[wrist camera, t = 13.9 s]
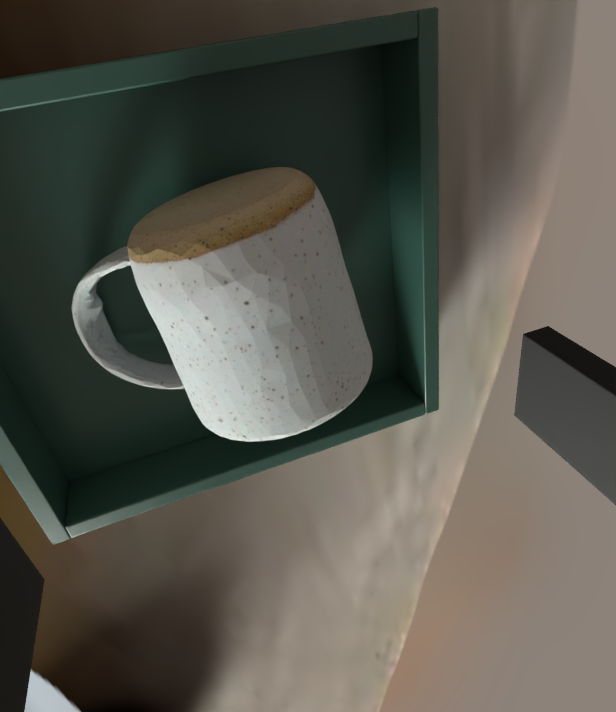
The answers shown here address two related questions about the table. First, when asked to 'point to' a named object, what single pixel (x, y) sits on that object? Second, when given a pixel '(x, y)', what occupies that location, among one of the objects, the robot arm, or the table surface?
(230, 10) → the table surface
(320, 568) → the table surface
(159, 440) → the tray
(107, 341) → the ceramic mug
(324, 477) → the table surface
